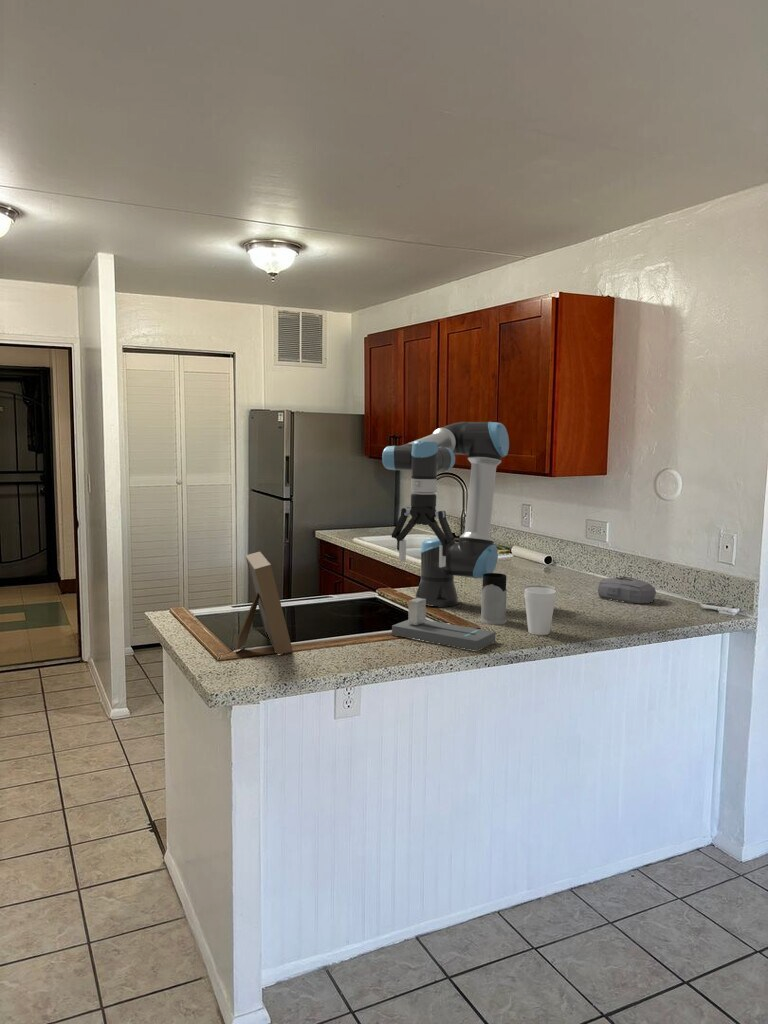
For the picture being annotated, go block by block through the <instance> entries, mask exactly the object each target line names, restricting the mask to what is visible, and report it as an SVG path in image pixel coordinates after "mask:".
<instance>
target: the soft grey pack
mask: <svg viewBox="0 0 768 1024" xmlns="http://www.w3.org/2000/svg"><path fill="white" fill-rule="evenodd" d="M597 593H598V597H599V598H601V597H602V599H605V598H607V599H606V600H608V599H612V600H611V601H613V600H618V601H624V602H623V603H626V602H631V603H630V604H651V603H653V602H654V601H653V600H654V599H655V596H656V595H657V591H656V589H655V586H654V585H652V584H650V583H649V582H646V581H643V580H641V579H638V578H633V577H630V576H629V577H628V576H622V575H619V576H615V577H606V578H604V579H602V580H601V581H600V582H599V584H598V587H597ZM618 601H617V602H618ZM650 602H651V603H650Z"/></svg>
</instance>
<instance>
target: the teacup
mask: <svg viewBox="0 0 768 1024" xmlns="http://www.w3.org/2000/svg"><path fill="white" fill-rule="evenodd" d="M531 587H541V588H550V589H553V590H555V591H556V587H555V586H552V585H546V584H537V583H535V584H529V585H526V586H524V587H523V588H522V589H523V591H524V590H525V589H526V588H531ZM523 602H524V606H525V607H526V603H525V597H524V596H523Z"/></svg>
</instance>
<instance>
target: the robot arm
mask: <svg viewBox="0 0 768 1024" xmlns="http://www.w3.org/2000/svg"><path fill="white" fill-rule="evenodd" d="M509 438H510V437H509V434H508V431H507V427H506V426H505V425H504V424H503V423H501V422H495V421H493V422H492V421H459V422H453V423H451V424H447V425H445V426H443V427H442V426H441V427H439V428H437V429H435V430H434V431H432V434H430V435H429V434H428V435H427V436H424V437H422V438H418V439H415V440H414V441H411V442H410V441H409V442H408V443H405V444H401V445H388V446H386V447H385V448H384V449H383V451H382V456H381V458H382V459H381V460H382V461H381V462H382V465H383V467H384V468H385V469H387V470H391V471H408V472H409V471H410V472H411V477H410V478H411V479H410V480H411V481H410V482H411V483H410V484H411V485H410V492H412V493H411V494H410V506H411V507H410V509H409V507H403V508H401V509H400V516H399V519H398V520H397V522H396V525H395V526H394V528H393V531H392V533H391V538H393V539H395V540H396V550H397V551H398V554H399V555H398V562H399V563H402V564H403V563H405V562H406V561H407V560H406V558H407V540H405V538H406V536H408V534H410V532H411V530H412V529H413V528H414V527H415V526H416V525H422V526H428V527H430V528H431V531H433V533H434V535H435V536H436V537H431V538H427V539H424V540H423V541H422V543H421V548H420V549H421V550H420V582H419V584H418V588H417V591H416V593H415V595H414V596H415V598H422V599H426V604H429V605H433V606H438V607H437V608H449V607H454V606H457V605H458V604H459V596H458V595H459V594H458V592H457V589H456V585H455V582H454V579H455V577H462V578H463V577H465V578H473V579H483V574H486V573H494V571H495V570H496V567H497V563H498V559H499V553H498V551H499V550H498V547H497V546H496V545H495V544H494V539H493V538H492V537H491V536H490V532H491V523H492V512H493V503H494V493H495V483H496V473H497V472H496V471H497V467H498V466H499V465H500V464H501V463H502V459H503V458H504V457H506V456H508V453H509V449H510V439H509ZM456 455H461V456H462V455H463V456H467V460H468V461H469V462H470V464H471V466H470V477H469V478H470V479H469V485H468V495H467V503H466V504H467V505H466V514H465V515H466V516H465V523H464V524H465V525H464V532H463V533H462V534H461V535H460V536H459V538H458V539H459V541H458V542H457V541H456V539H455V537H454V534H453V531H452V529H451V527H450V525H449V522H448V519H447V513H446V510H440V511H437V510H436V506H437V494H435V493H436V492H437V489H438V488H437V484H438V483H437V480H438V477H437V476H438V473H445V472H447V471H450V470H451V469H452V468H453V467H454V465H455V464H456ZM409 516H410V517H411V518H410V519H409V520H408V518H409ZM435 518H437V519H438V522H439V524H440V526H439V524H438V522H437V520H436V519H435ZM407 520H408V522H407ZM406 522H407V524H406ZM405 524H406V526H405V527H404V525H405ZM415 598H414V599H415ZM448 606H449V607H448Z"/></svg>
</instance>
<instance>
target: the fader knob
mask: <svg viewBox="0 0 768 1024" xmlns="http://www.w3.org/2000/svg"><path fill="white" fill-rule="evenodd" d="M426 608H427V606H426V599H422V598H413V599H409V600H408V614H407V615H408V616H407V617H408V619H407V620H408V624H413V625H419V624H421V623H424V622H426V620H427V619H426V616H427V615H426V612H427V611H426V610H427V609H426Z"/></svg>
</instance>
